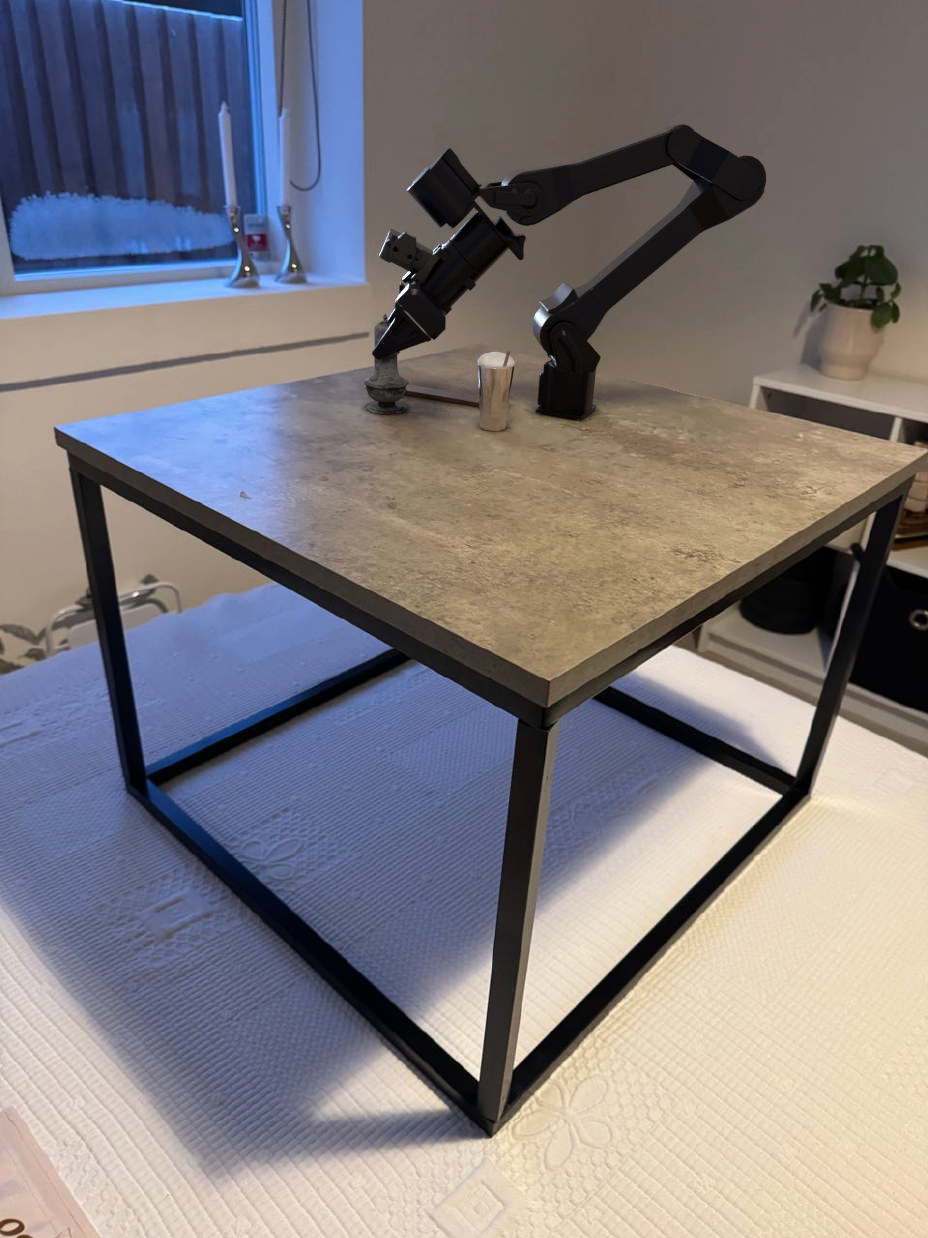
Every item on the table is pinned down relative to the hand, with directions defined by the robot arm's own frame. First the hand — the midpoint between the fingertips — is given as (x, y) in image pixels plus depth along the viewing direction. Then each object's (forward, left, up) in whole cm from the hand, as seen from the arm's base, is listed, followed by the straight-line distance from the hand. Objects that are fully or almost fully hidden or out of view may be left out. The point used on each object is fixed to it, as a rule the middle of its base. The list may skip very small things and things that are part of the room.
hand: (376, 348), depth 110 cm
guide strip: (-4, -9, -8) cm, 13 cm away
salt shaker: (-1, 0, -8) cm, 8 cm away
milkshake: (-17, 0, -8) cm, 19 cm away
